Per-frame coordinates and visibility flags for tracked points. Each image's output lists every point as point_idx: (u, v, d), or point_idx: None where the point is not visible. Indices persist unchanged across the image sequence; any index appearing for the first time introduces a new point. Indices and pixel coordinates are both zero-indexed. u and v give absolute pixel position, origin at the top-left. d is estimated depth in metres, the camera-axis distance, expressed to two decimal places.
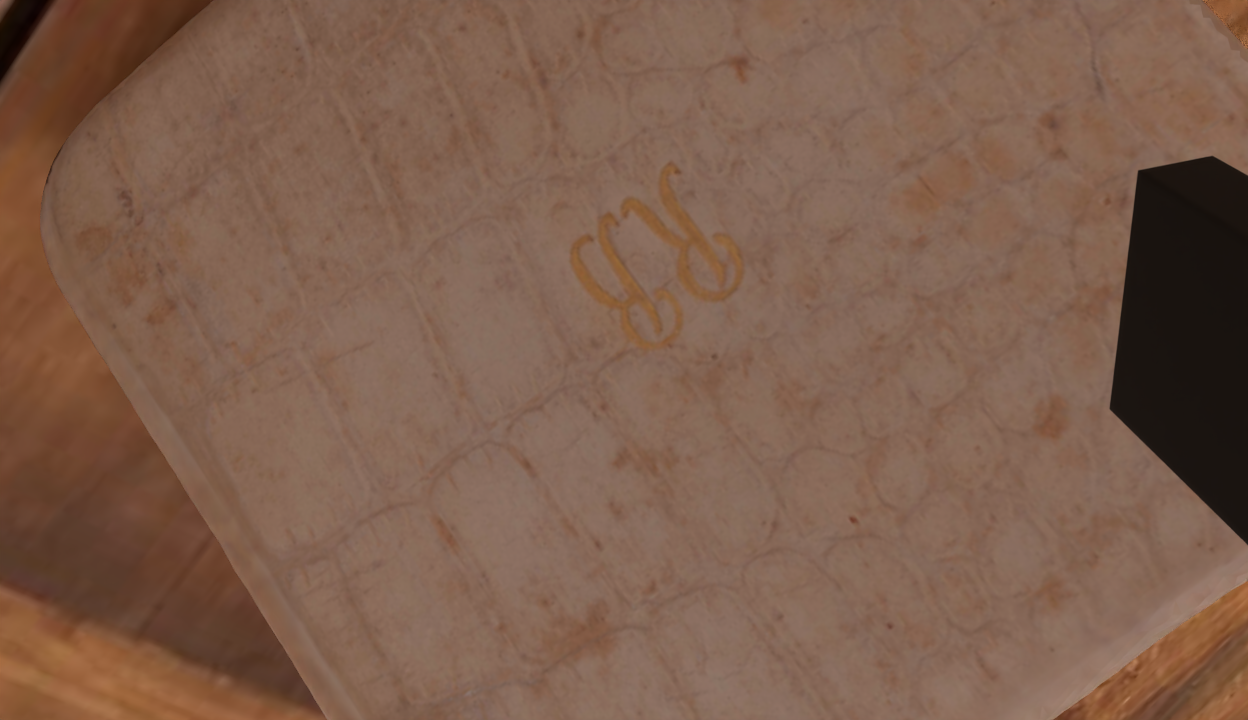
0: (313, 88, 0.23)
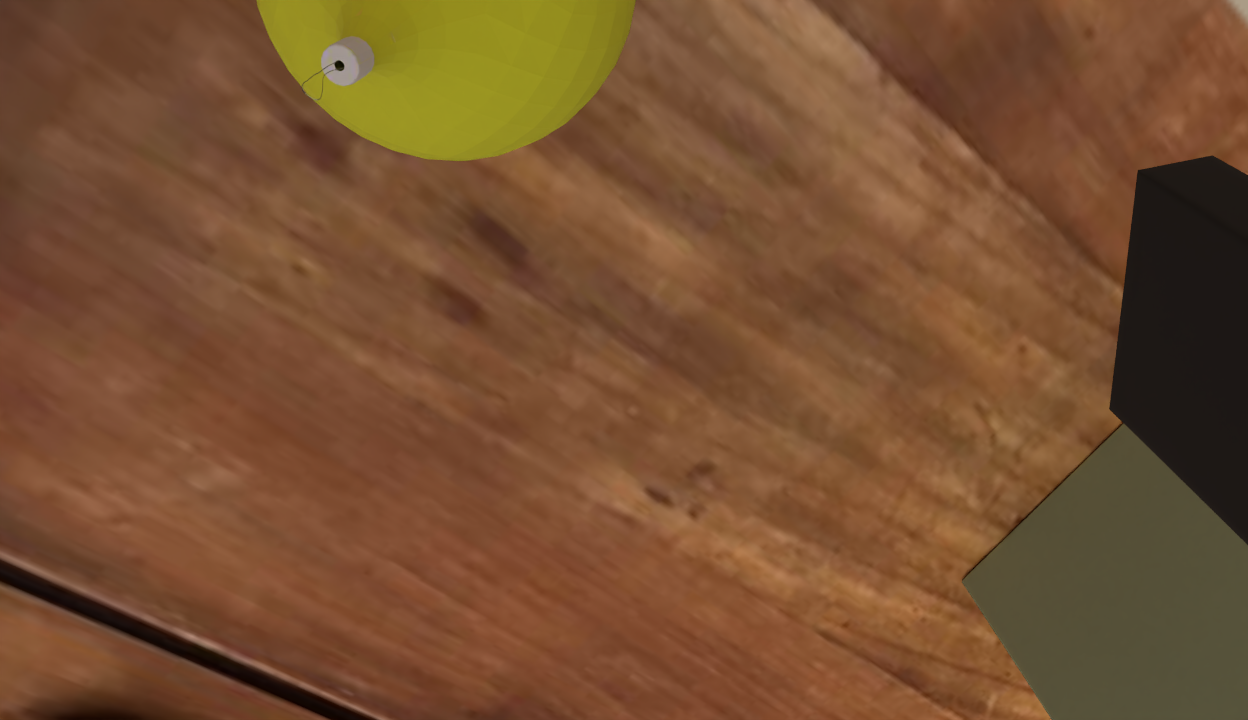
0: None
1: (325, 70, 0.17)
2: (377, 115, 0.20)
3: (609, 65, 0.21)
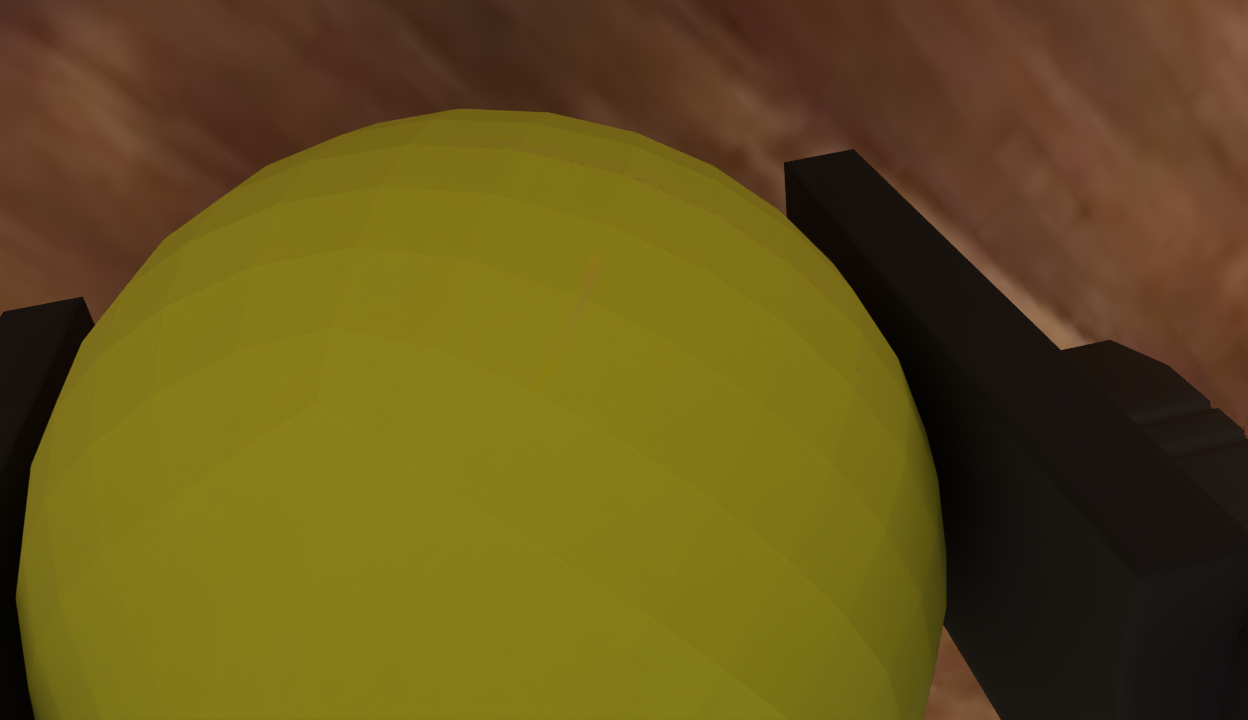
0: None
1: None
2: None
3: None
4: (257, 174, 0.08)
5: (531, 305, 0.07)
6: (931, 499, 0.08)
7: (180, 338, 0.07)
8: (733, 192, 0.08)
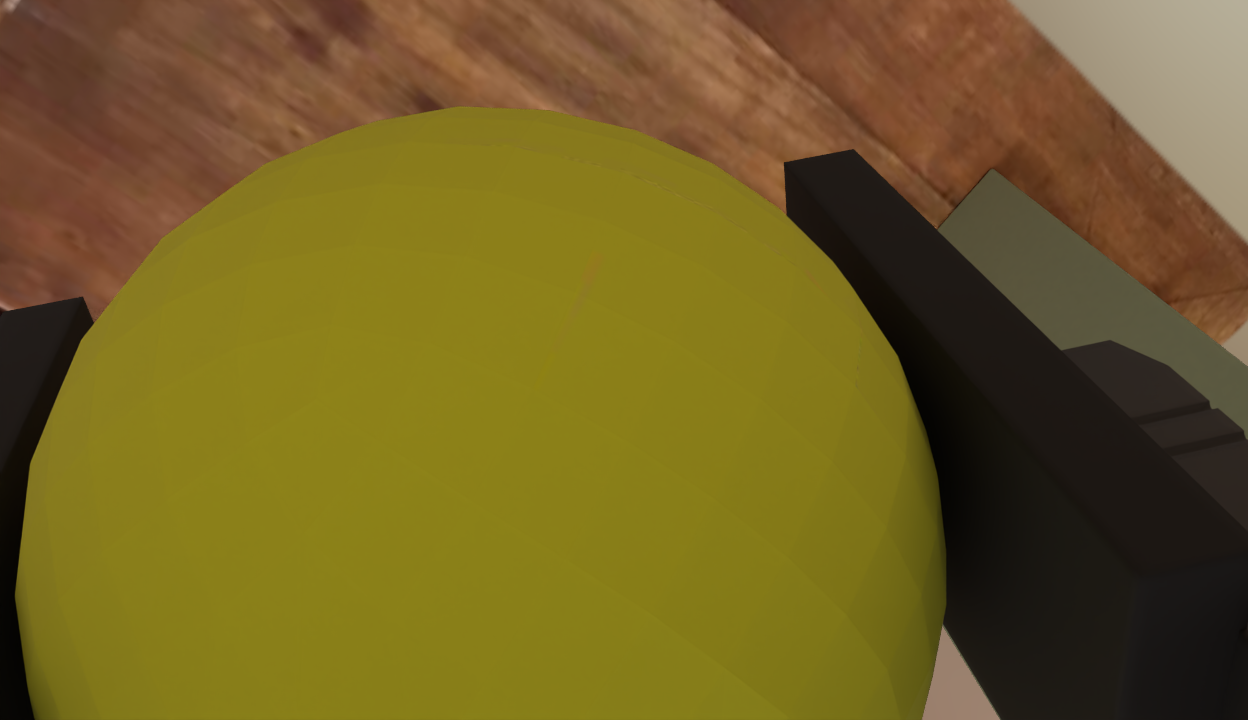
0: None
1: None
2: None
3: None
4: (256, 172, 0.08)
5: (531, 303, 0.07)
6: (931, 497, 0.08)
7: (178, 336, 0.07)
8: (732, 190, 0.08)
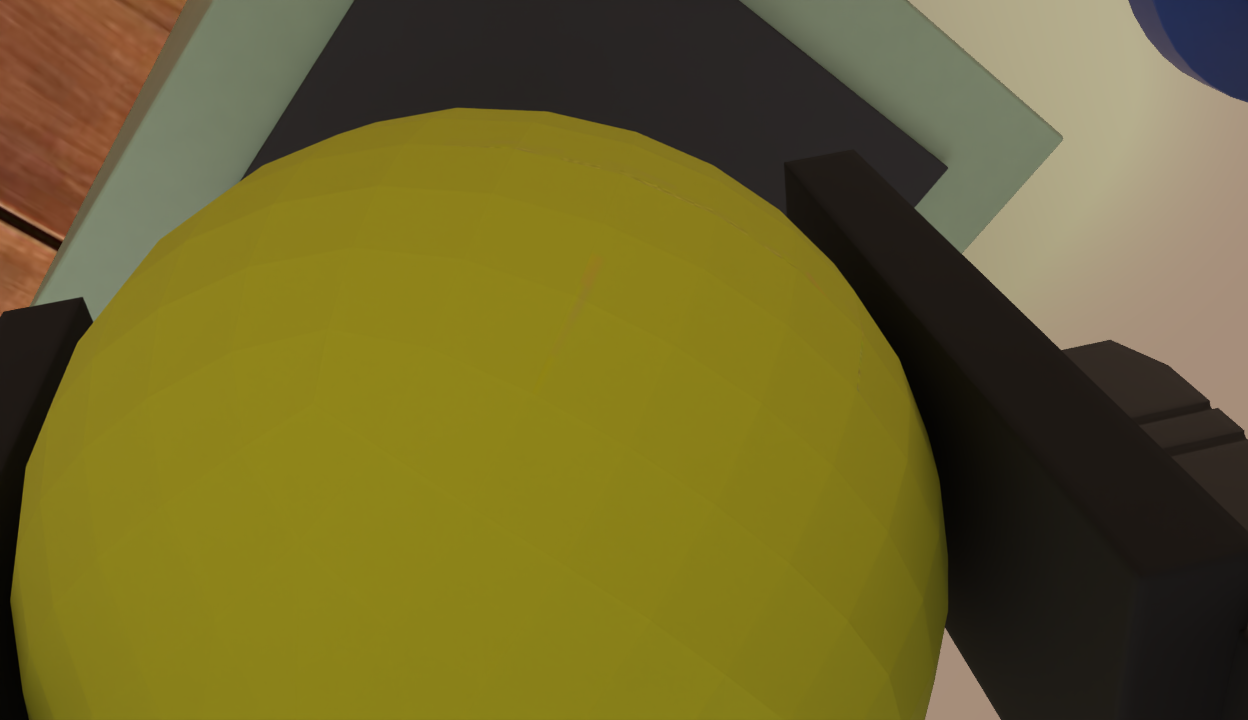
0: None
1: None
2: None
3: None
4: (254, 174, 0.08)
5: (530, 306, 0.07)
6: (933, 502, 0.08)
7: (174, 339, 0.07)
8: (733, 192, 0.08)
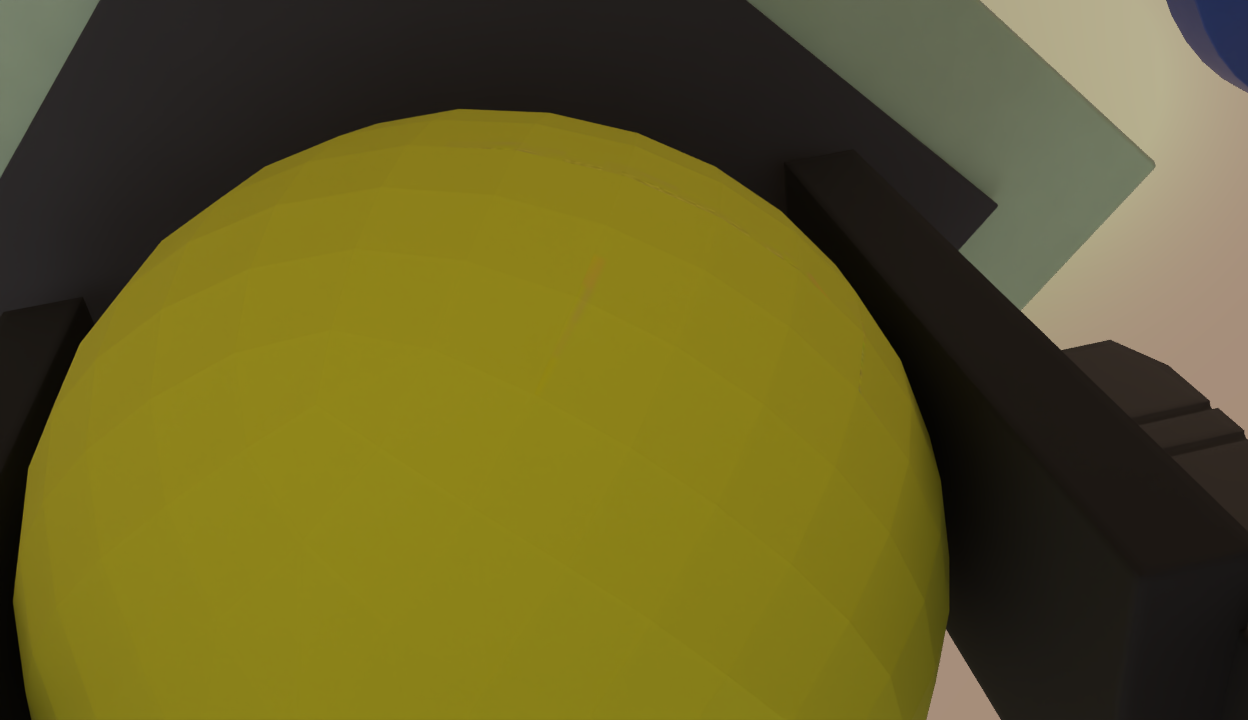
0: None
1: None
2: None
3: None
4: (256, 174, 0.08)
5: (532, 308, 0.07)
6: (934, 502, 0.08)
7: (176, 339, 0.07)
8: (735, 193, 0.08)
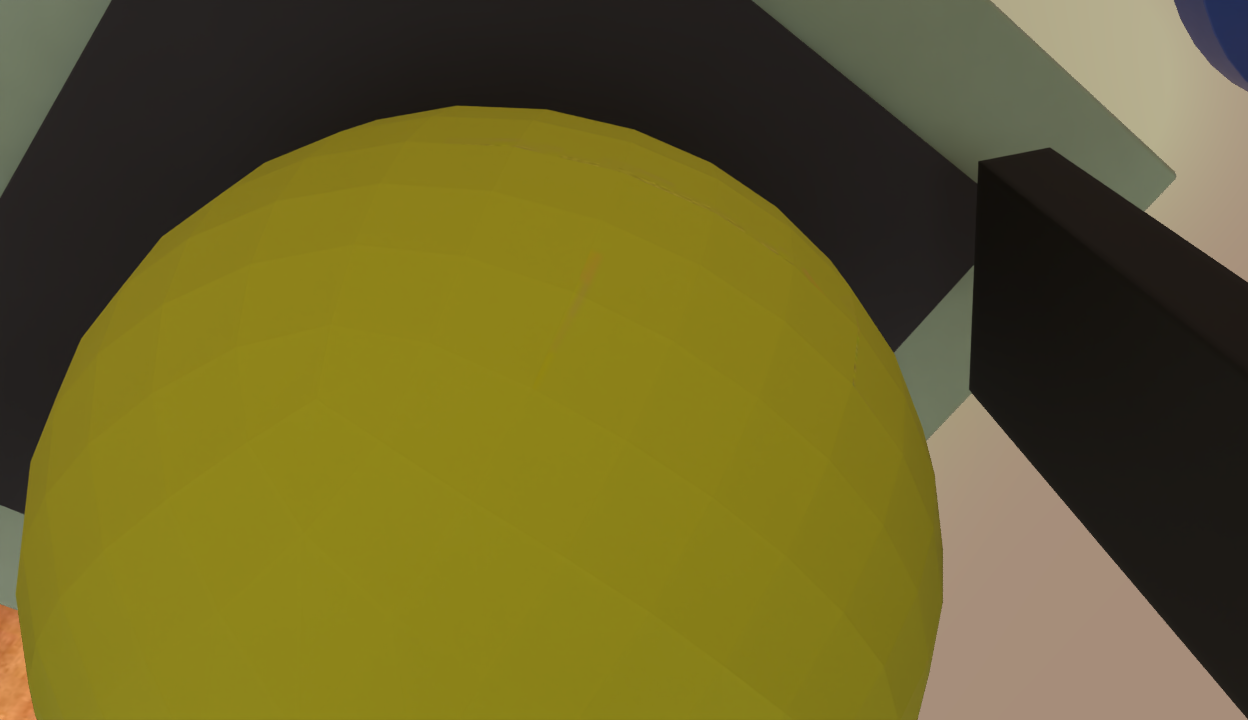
0: None
1: None
2: None
3: None
4: (255, 171, 0.08)
5: (529, 302, 0.07)
6: (927, 495, 0.08)
7: (178, 335, 0.07)
8: (730, 189, 0.08)
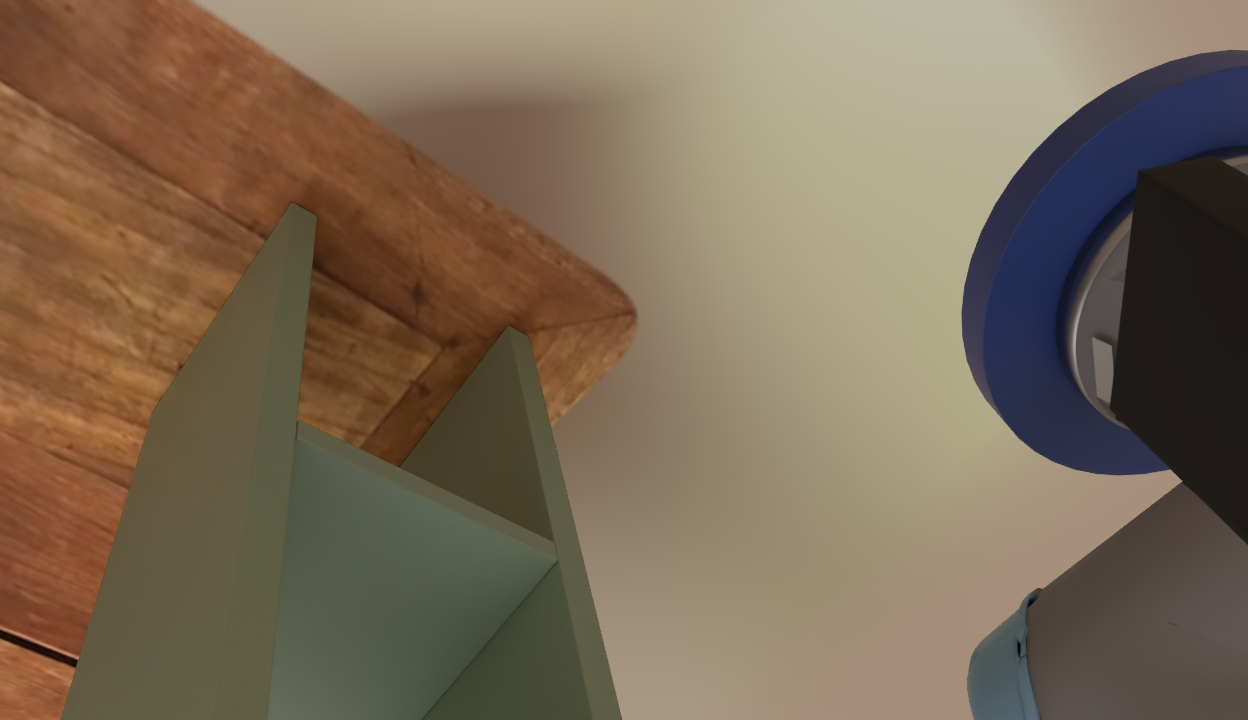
0: None
1: None
2: None
3: None
4: None
5: None
6: None
7: None
8: None
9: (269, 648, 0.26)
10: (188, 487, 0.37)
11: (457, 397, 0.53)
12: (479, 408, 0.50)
